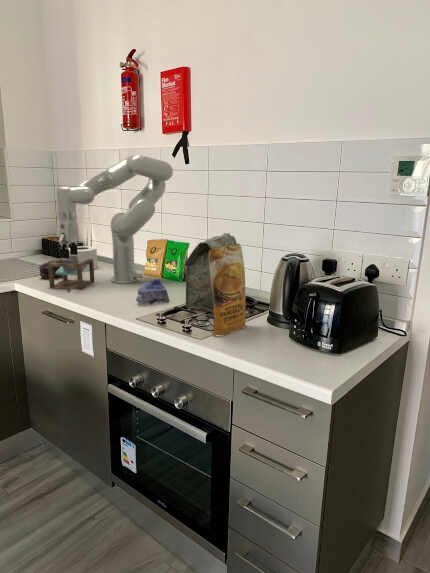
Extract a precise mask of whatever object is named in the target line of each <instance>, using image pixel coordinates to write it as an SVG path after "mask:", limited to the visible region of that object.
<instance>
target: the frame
mask: <svg viewBox="0 0 430 573" xmlns="http://www.w3.org/2000/svg"><path fill="white" fill-rule="evenodd" d="M63 259H64V258H62V257H61V258H60V259H59V258H58V260H56V259H54V260H55V261H53V262H51V263H49V266H48V272H49V278H48V281H49V289H54V290H73V291H74V290H75V291H83V290H85V288H87V287H89V286H90V285H92V284H94V283H95V270H94V262H93V259H88V260H86V261H84V262H82V263H80V264H62V263H60V262H62V260H63ZM86 264H89V270H90V271H89V280H87V279H84V278H83V271H82V266H84V265H86ZM53 266H61V267H77V279H68V278H69V277H68V276H69V275H62V280H60V281H58V282H56V283H55V278H54V272H53Z"/></svg>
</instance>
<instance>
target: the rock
mask: <svg viewBox="0 0 430 573" xmlns="http://www.w3.org/2000/svg"><path fill="white" fill-rule="evenodd" d="M58 259H60V258H58ZM58 259H53V260H49V261H47V262H45V263H44V262H43V264H40V265H39V268H38V269H39V275H40V277H41V278H42V279H44V280H45V279H49V272H48V266H49V263H51V262H53V261H55V260H58ZM60 263H62V262H60ZM60 267H61V266H53V272H54V279H56V278H57V279H58V278H60V277H62V275H56V273H55V272H56V271H57V270H58V269H59V268H60Z"/></svg>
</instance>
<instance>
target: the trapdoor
mask: <svg viewBox="0 0 430 573" xmlns="http://www.w3.org/2000/svg"><path fill="white" fill-rule="evenodd" d="M78 263H79V264H80V263H82V262H78ZM87 265H88V264H86V265H84V266H82V272H84V271H83V270H84V269H85V268H86V266H87ZM55 273H56V275H61V276H63V275H67V276H77V269H76V270H75V271H64V270H63V267H60V268H59V269H58V270H57V271H56V272H55ZM77 277H78V276H77Z"/></svg>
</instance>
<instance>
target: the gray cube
mask: <svg viewBox="0 0 430 573" xmlns="http://www.w3.org/2000/svg"><path fill="white" fill-rule="evenodd" d="M62 264H79V263H78V257H77V256H69V258H64V259H63V260H62ZM76 269H77V267H63V270H64V271H75V270H76Z"/></svg>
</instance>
